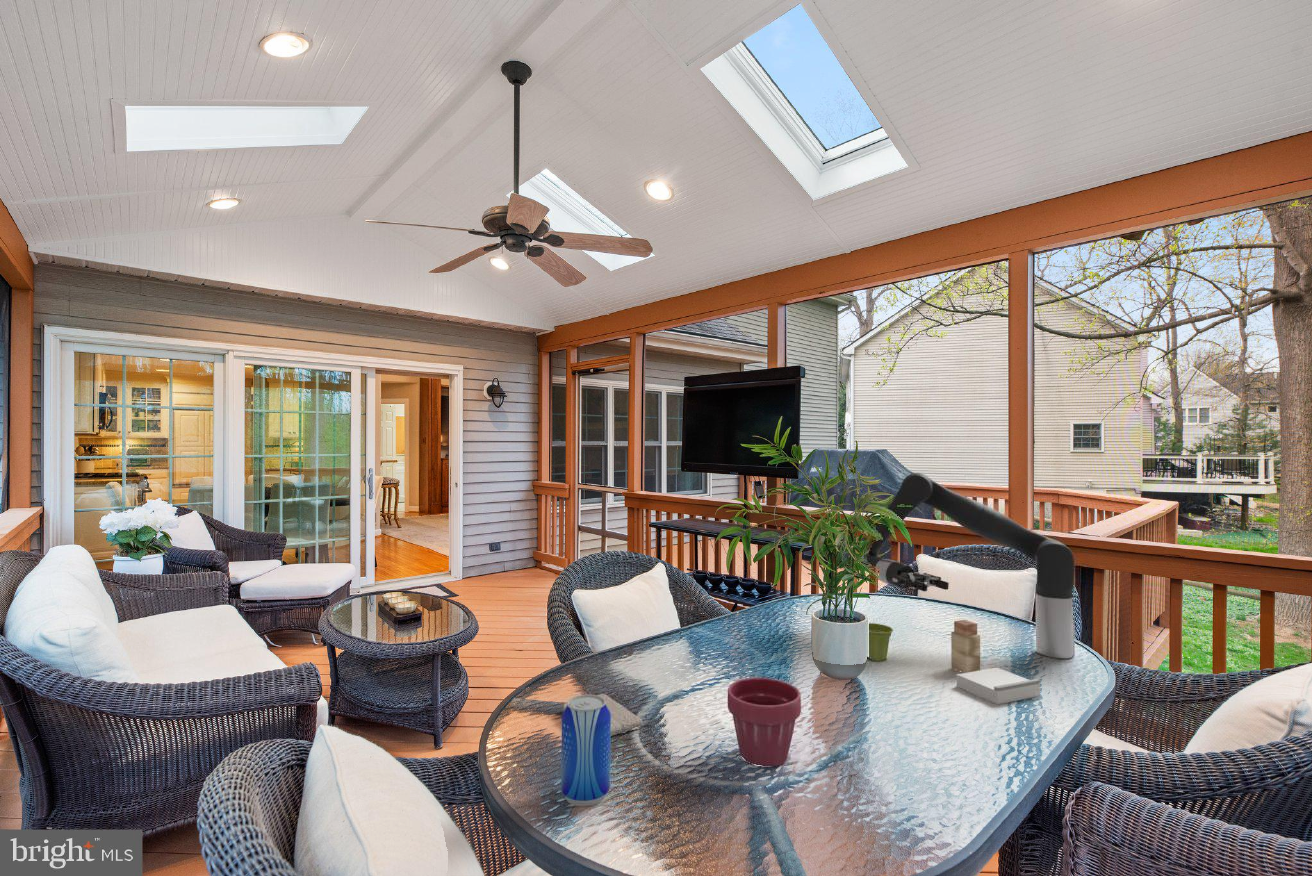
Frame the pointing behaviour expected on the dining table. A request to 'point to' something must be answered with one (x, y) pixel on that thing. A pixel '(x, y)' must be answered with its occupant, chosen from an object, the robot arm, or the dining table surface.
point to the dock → (998, 685)
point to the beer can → (585, 750)
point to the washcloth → (619, 716)
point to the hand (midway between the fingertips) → (937, 587)
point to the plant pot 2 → (878, 641)
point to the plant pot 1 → (764, 718)
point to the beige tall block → (965, 647)
